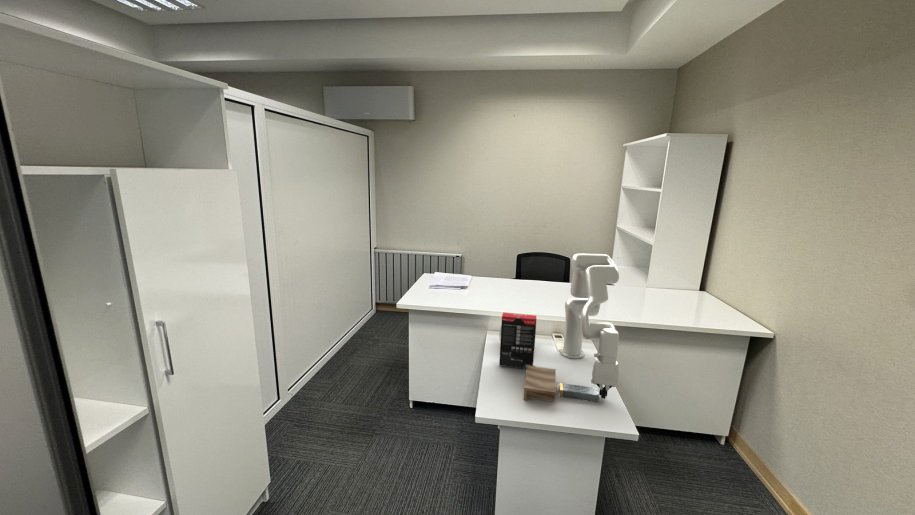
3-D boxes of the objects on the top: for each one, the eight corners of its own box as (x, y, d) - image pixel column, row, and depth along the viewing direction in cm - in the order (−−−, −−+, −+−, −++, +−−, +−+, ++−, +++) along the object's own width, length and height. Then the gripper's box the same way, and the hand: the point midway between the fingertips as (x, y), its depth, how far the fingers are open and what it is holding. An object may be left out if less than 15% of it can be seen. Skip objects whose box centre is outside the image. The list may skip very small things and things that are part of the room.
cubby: (526, 377, 179) (527, 365, 178) (554, 381, 176) (555, 369, 174) (523, 400, 160) (524, 387, 159) (554, 405, 157) (555, 392, 155)
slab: (596, 395, 165) (597, 387, 164) (598, 402, 159) (599, 395, 158) (559, 389, 168) (559, 382, 168) (559, 397, 163) (560, 389, 162)
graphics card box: (533, 364, 191) (536, 313, 186) (533, 370, 185) (536, 318, 179) (500, 360, 195) (502, 311, 189) (498, 367, 188) (501, 315, 182)
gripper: (589, 359, 155) (585, 399, 159) (627, 364, 152) (622, 404, 156) (587, 351, 163) (584, 389, 166) (624, 356, 159) (619, 394, 163)
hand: (602, 396), depth 161 cm, fingers closed
